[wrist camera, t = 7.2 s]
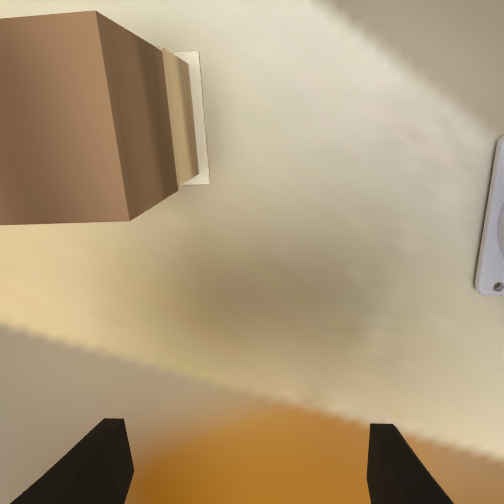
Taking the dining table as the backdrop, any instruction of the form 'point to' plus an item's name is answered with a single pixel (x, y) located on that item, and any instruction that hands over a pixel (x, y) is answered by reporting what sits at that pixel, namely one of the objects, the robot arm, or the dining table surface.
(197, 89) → the cream tile
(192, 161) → the maple base
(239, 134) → the dining table surface
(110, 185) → the walnut block
